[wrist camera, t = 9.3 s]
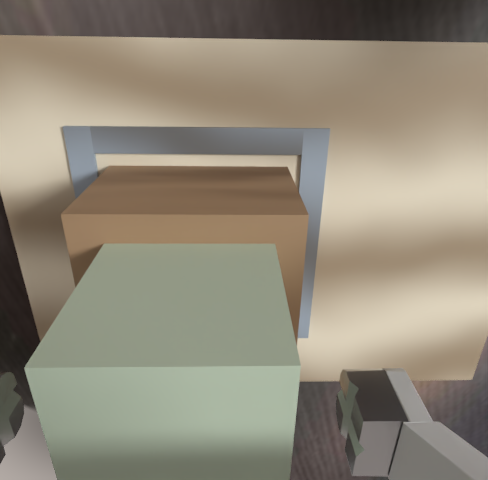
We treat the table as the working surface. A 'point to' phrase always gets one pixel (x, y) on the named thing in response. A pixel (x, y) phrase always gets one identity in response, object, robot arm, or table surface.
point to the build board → (278, 155)
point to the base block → (192, 214)
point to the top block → (171, 367)
